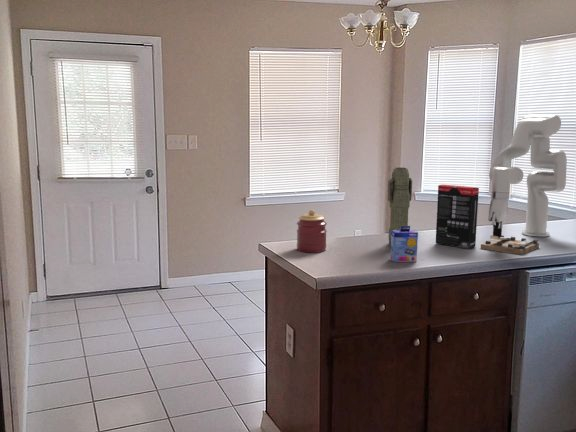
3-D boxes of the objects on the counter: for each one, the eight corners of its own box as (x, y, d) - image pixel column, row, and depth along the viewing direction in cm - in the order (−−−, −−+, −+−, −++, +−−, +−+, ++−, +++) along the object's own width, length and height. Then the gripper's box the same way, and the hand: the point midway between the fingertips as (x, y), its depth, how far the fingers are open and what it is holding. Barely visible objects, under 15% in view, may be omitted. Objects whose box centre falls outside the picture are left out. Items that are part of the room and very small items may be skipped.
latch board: (499, 241, 264) (499, 234, 263) (538, 247, 252) (539, 239, 251) (480, 248, 249) (481, 240, 249) (521, 254, 237) (522, 246, 237)
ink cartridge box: (393, 262, 224) (394, 226, 222) (389, 259, 229) (390, 224, 227) (417, 262, 225) (418, 226, 222) (413, 258, 230) (414, 223, 228)
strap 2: (526, 241, 253) (526, 238, 253) (532, 242, 251) (533, 239, 251) (512, 246, 242) (512, 243, 242) (519, 247, 240) (519, 244, 240)
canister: (292, 251, 243) (292, 211, 240) (302, 245, 255) (302, 207, 252) (321, 254, 238) (321, 212, 236) (329, 247, 250) (330, 208, 248)
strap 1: (504, 238, 260) (504, 235, 260) (510, 239, 258) (510, 236, 258) (489, 238, 248) (490, 235, 248) (496, 239, 246) (497, 236, 246)
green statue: (381, 244, 258) (383, 167, 252) (401, 241, 264) (403, 166, 258) (394, 247, 250) (397, 169, 245) (414, 245, 256) (417, 168, 251)
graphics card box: (476, 247, 252) (480, 186, 248) (469, 249, 247) (473, 187, 243) (441, 241, 264) (444, 183, 259) (434, 244, 259) (436, 185, 254)
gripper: (498, 194, 256) (495, 234, 258) (484, 196, 245) (481, 238, 247) (515, 195, 250) (512, 236, 253) (501, 197, 240) (498, 240, 242)
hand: (497, 237), depth 250 cm, fingers closed
